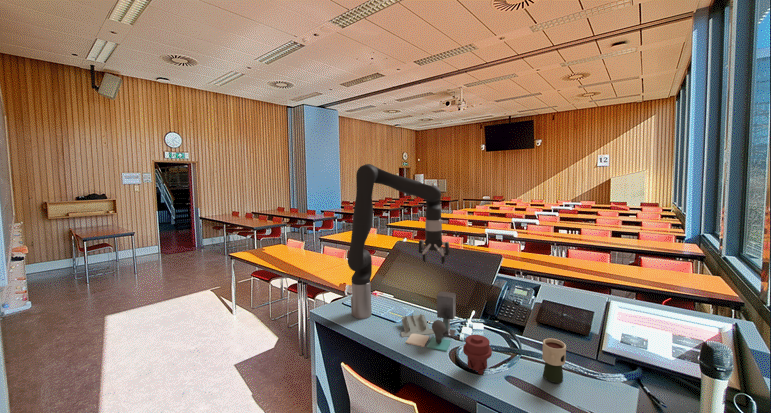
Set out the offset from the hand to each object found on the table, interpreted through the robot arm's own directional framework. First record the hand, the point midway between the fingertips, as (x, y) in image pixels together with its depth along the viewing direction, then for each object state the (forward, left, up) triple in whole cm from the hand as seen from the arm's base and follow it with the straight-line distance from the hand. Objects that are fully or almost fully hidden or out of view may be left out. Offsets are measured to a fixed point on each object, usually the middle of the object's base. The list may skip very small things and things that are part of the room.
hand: (433, 262), depth 158 cm
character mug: (+50, -28, -28) cm, 64 cm away
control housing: (+8, -11, -28) cm, 31 cm away
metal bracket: (-6, -12, -29) cm, 32 cm away
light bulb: (+8, -21, -28) cm, 36 cm away
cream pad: (-2, -21, -28) cm, 35 cm away
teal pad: (+8, -21, -28) cm, 36 cm away
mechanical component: (+25, -32, -28) cm, 49 cm away
